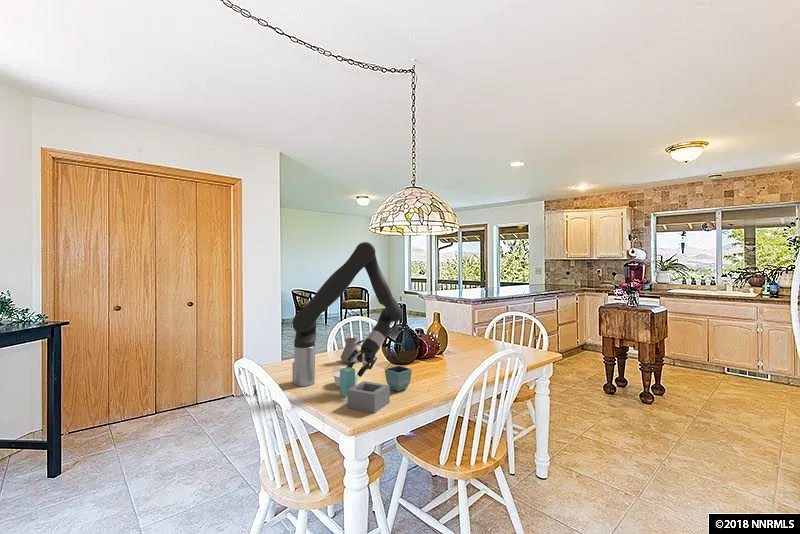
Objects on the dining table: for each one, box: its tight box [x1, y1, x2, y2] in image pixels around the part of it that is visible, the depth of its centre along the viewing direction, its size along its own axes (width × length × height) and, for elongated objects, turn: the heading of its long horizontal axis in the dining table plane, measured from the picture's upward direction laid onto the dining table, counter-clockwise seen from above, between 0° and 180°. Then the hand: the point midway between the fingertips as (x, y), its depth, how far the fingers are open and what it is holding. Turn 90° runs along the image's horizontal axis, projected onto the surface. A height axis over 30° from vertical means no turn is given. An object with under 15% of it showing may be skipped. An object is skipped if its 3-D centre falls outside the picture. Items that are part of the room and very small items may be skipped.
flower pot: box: [384, 365, 413, 392], centre depth 172 cm, size 9×9×9 cm
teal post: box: [339, 366, 356, 399], centre depth 165 cm, size 4×4×11 cm
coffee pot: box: [340, 337, 365, 365], centre depth 212 cm, size 21×12×15 cm, turn 32°
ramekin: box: [333, 370, 359, 388], centre depth 178 cm, size 11×11×5 cm
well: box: [346, 380, 391, 414], centre depth 153 cm, size 12×12×7 cm
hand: (352, 373), depth 167 cm, fingers open, 8 cm apart
